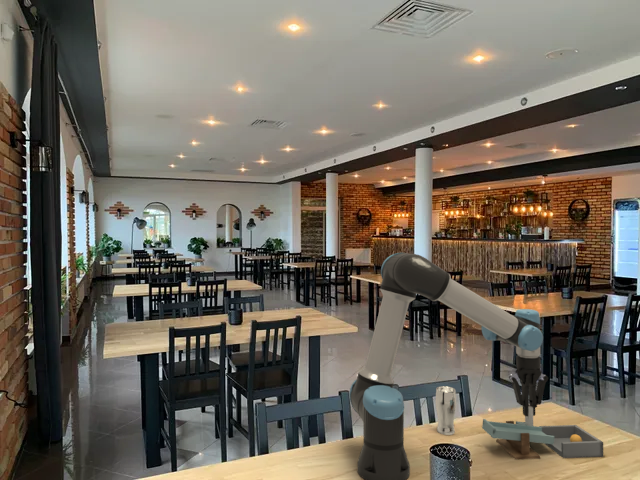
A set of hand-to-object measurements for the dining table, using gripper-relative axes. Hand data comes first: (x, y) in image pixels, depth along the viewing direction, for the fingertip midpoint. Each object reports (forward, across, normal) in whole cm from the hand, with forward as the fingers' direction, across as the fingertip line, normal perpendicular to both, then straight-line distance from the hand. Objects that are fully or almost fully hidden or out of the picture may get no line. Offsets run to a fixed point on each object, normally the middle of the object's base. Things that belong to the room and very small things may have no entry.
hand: (529, 425), depth 162 cm
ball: (+3, +12, -8) cm, 14 cm away
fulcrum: (+5, -8, -8) cm, 12 cm away
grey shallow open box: (+5, +10, -8) cm, 13 cm away
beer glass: (+5, -26, +8) cm, 28 cm away
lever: (0, -8, -4) cm, 9 cm away
